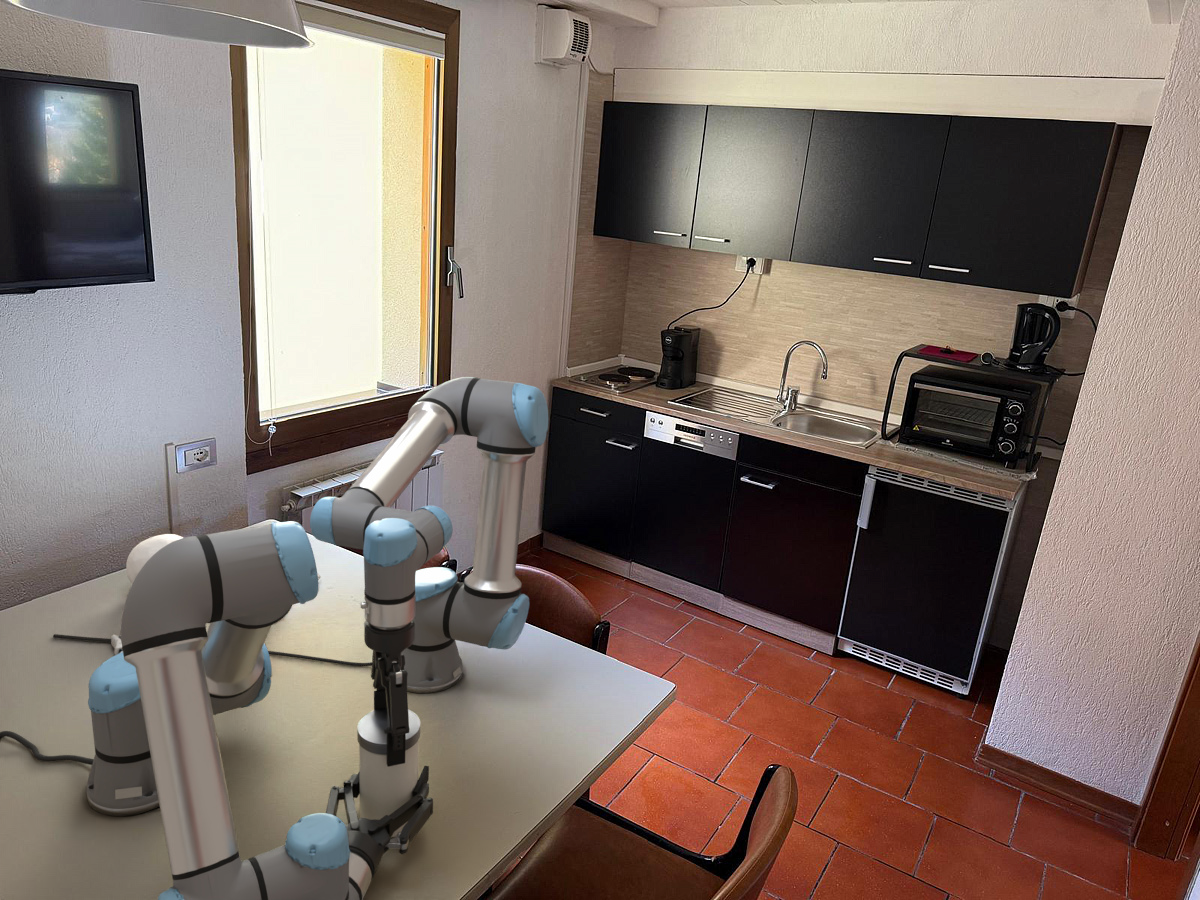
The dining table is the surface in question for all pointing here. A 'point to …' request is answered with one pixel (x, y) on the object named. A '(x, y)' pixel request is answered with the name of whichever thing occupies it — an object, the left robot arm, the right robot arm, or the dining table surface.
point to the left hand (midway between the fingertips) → (397, 768)
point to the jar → (386, 783)
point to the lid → (373, 731)
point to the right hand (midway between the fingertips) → (389, 743)
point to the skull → (146, 553)
